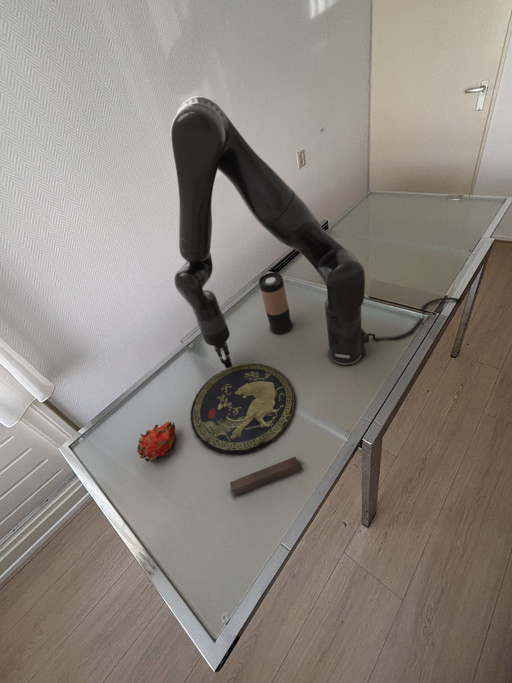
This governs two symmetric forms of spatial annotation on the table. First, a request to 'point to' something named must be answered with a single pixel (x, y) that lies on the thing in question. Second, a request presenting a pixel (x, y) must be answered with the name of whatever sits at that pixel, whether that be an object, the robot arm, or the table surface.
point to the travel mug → (275, 302)
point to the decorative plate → (242, 409)
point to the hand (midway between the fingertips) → (228, 365)
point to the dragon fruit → (156, 441)
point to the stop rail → (264, 476)
